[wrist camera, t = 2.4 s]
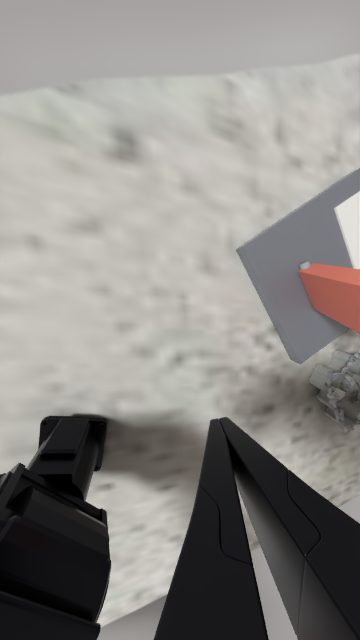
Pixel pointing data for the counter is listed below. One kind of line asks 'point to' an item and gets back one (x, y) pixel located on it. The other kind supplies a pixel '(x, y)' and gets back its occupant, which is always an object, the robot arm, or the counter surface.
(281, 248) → the base
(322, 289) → the lever
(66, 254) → the counter surface
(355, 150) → the counter surface
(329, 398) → the grey lumpy stone piece
